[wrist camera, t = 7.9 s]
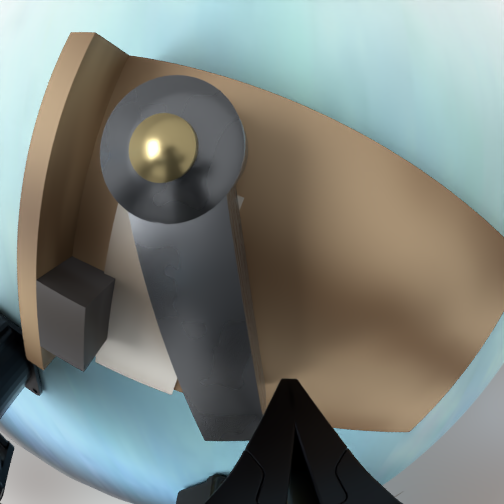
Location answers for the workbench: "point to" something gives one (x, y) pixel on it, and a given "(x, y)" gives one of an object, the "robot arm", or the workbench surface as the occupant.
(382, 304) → the door board
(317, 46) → the workbench surface
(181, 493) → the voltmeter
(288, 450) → the robot arm
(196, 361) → the bar
